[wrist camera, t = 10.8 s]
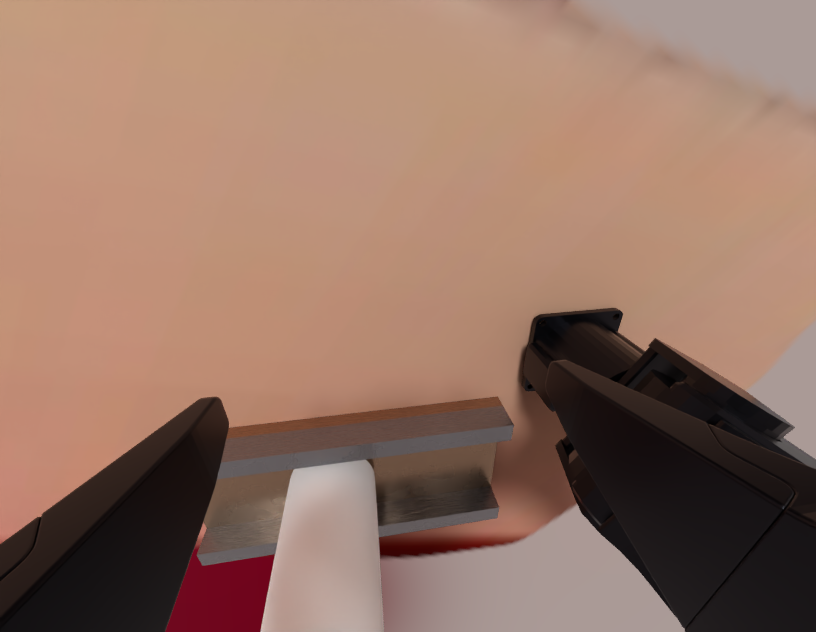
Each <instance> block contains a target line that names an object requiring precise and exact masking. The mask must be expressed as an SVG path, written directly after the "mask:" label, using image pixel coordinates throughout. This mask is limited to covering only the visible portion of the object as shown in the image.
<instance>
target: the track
mask: <svg viewBox="0 0 816 632" xmlns="http://www.w3.org/2000/svg"><path fill="white" fill-rule="evenodd" d="M513 427H514V425H513V423H512V421H511V419H510V418H509V416H508V414H507V412H506V411H505V409H504V407H503V405H502V404H501V402H500V400H499V398H498V397H492V398H483V399H475V400H466V401H458V402H449V403H441V404H432V405H423V406H415V407H406V408H398V409H389V410H380V411H372V412H363V413H355V414H346V415H338V416H329V417H320V418H312V419H303V420H295V421H286V422H277V423H269V424H260V425H252V426H243V427H235V428H229V429H228V434H227V438H226V443H225V447H224V451H223V456H222V460H221V465H220V469H219V473H218V478H217V482H216V485H215V489H214V492H213V495H212V498H211V501H210V504H209V507H208V510H207V512H206V515H205V518H204V521H203V522H204V524H205V525H206V527H207V529H206V532H205V535H204V537H203V540H202V543H201V545H200V548H199V550H198V553H197V556H198V558H199V560H200V562H201V563H202V565H210V564H216V563H222V562H229V561H235V560H241V559H247V558H253V557H260V556H266V555H272V554H275V553H276V548H277V543H278V538H279V532H280V527H281V522H282V517H283V512H284V507H285V502H286V497H287V492H288V487H289V482H290V478H291V475H292V472H293V470H294V469H298V468H306V467H313V466H321V465H328V464H336V463H343V462H351V461H358V460H367V461H368V462H369V463H370V465H371V466H372V468H373V470H374V475H375V486H376V501H377V517H378V533H379V537H383V536H390V535H396V534H402V533H408V532H414V531H421V530H427V529H433V528H439V527H445V526H451V525H458V524H464V523H470V522H476V521H482V520H489V519H495V518H497V517H498V511H499V506H498V503H497V501H496V498H495V496H494V493H493V491H492V488H491V480H492V473H493V467H494V460H495V453H496V447H497V442H501V441H508V440H511V438H512V432H513Z"/></svg>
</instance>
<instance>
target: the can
mask: <svg viewBox="0 0 816 632" xmlns="http://www.w3.org/2000/svg"><path fill="white" fill-rule="evenodd" d="M261 632H384V622H383V602H382V586H381V568H380V550H379V533H378V517H377V501H376V486H375V475H374V470H373V468H372V466H371V465H370V463H369V462H368V461H367V460H358V461H351V462H343V463H336V464H328V465H321V466H313V467H306V468H298V469H294V470H293V472H292V475H291V478H290V482H289V487H288V492H287V497H286V502H285V507H284V512H283V517H282V522H281V527H280V532H279V538H278V543H277V548H276V553H275V558H274V564H273V569H272V574H271V579H270V585H269V590H268V596H267V600H266V605H265V610H264V616H263V622H262V627H261Z"/></svg>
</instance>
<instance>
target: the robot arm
mask: <svg viewBox="0 0 816 632" xmlns="http://www.w3.org/2000/svg"><path fill="white" fill-rule="evenodd" d="M614 315H615V316H614ZM622 316H623V313H622V312H621V311H620V310H618V309H617V308H608V309H596V310H585V311H573V312H562V313H551V314H541V315H538V316H536V317H535V318H534V321H533V325H532V331H531V337H530V342H529V344H528V346H527V351H526V356H525V362H524V368H523V374H524V376H523V381H522V386H523V387H524V389H525V390H526V391H536V392H537V393H538V395H539V396H540V397H541V399H542V400H543V401H544V403H545V404H546V405H547V407H548V408H549V409H550V410H551V411H556V413H557V415H558V417H559V419H560V422H561V424H562V426H563V428H564V430H565V432H566V434H567V436H566V437H565V438H564V439H563V440H562V439H561V440H560V441H559V442H558V443H557V444H556V445H555V446H556V449H557V452H558V454H559V457H560V460H561V462H562V465H563V468H564V470H565V473H566V476H567V479H568V481H569V484H570V487H571V489H572V492H573V495H574V497H575V500H576V502H577V504H578V506H579V508H580V511H581V513H582V514H583V515H584V516H585V517H586V518H587V519H588V520H589V522H590V523H591V524H592V525H593V526H594V527H595V528H596V529H597V531H598V532H599V533H601V535H602V536H604V537H605V538H606V539H607V540H608V541H609V542H610V543H612V544H613V545H614V546H615V547H616V548H617V549H618V550H620V551H621V552H622V553H623V554H624V555H625V557H626V558H627V559H628V560H629V561H630V562H631V563H632V564H633V565H634V566H635V567H636V568H637V569H638V570H639V571H640V573H641V574H642V575H643V576H644V577H645V579H646V580H647V581H648V582H649V583H650V585H651V586H652V587H653V588H654V590H655V591H656V592H657V593H658V595H659V596H660V597H661V599H662V600H663V601H664V602H665V604H666V605H667V606H668V607H669V609H670V610H671V611H672V612H673V614H674V615H675V616H676V617H677V618H678V620H679V622H680V623H681V625H682V627H683V628H685V632H816V459H814V458H813V457H811V456H810V455H808V454H807V453H805V452H804V451H802V450H801V449H799V448H798V447H796V446H795V445H793V444H792V443H790V442H789V441H787V440H786V439H784V438H783V437H784V436H785V435H786V434H787V433H789V432H790V431H791V430H793V429H794V428H795V427H794V426H793V425H791V424H790V423H789V422H787V421H786V420H785V419H783V418H782V417H780V416H779V415H778V414H776V413H775V412H773V411H772V410H771V409H770V408H768V407H767V406H765V405H764V404H762V403H761V402H760V401H758V400H757V399H756V398H754V397H753V396H752V395H750V394H749V393H748V392H746V391H745V390H743V389H742V388H740V387H738V386H737V385H735V384H733V383H732V382H730V381H729V380H727V379H725V378H724V377H722V376H721V375H719V374H717V373H716V372H714V371H713V370H711V369H709V368H708V367H706V366H704V365H703V364H701V363H699V362H697V361H696V360H694V359H692V358H690V357H688V356H687V355H685V354H683V353H681V352H679V351H678V350H676V349H674V348H672V347H670V346H669V345H667V344H665V343H663V342H661V341H660V340H658V339H656V338H655V339H654V340H653V341H652V342H651V343H650V344H649V348H648V349H647V350H646V351H644V350H642V349H641V348H639V347H638V346H637V345H635V344H634V343H632V342H631V341H630V340H628V339H627V338H625V337H624V336H623V335H621V334H620V333H618V329H619V326H620V322H621V319H622ZM542 320H543V322H542V323H541V324H539V323H540V322H541V321H542ZM529 384H530V385H529ZM228 429H229V421H228V418H227V415H226V412H225V410H224V407H223V404H222V401H221V400H220V398H218V397H207V398H201V399H199V400H197V401H196V402H195V403H193V404H192V405H191V406H189V407H188V408H187V409H185V410H184V411H182V412H181V413H180V414H178V415H177V416H176V417H174V418H173V419H171V420H170V421H169V422H167V423H166V424H165V425H163V426H162V427H161V428H159V429H158V430H156V431H155V432H154V433H152V434H151V435H150V436H148V437H147V438H145V439H144V440H143V441H141V442H140V443H139V444H137V445H136V446H134V447H133V448H132V449H130V450H129V451H128V452H126V453H125V454H123V455H122V456H121V457H119V458H118V459H117V460H115V461H114V462H113V463H111V464H110V465H108V466H107V467H106V468H104V469H103V470H102V471H100V472H99V473H97V474H96V475H95V476H93V477H92V478H91V479H89V480H88V481H86V482H85V483H84V484H82V485H81V486H80V487H78V488H77V489H75V490H74V491H73V492H71V493H70V494H69V495H67V496H66V497H65V498H63V499H62V500H60V501H59V502H58V503H56V504H55V505H54V506H52V507H51V508H49V509H48V510H47V511H45V512H44V513H43V514H42V516H41V517H37V518H36V519H34V520H33V521H31V522H30V523H29V524H27V525H26V526H25V527H23V528H22V529H21V530H19V531H18V532H16V533H15V534H14V535H12V536H11V537H10V538H8V539H7V540H5V541H4V542H3V543H1V544H0V632H165V630H166V627H167V624H168V622H169V619H170V616H171V613H172V610H173V607H174V604H175V602H176V599H177V596H178V593H179V590H180V587H181V584H182V581H183V579H184V576H185V573H186V570H187V567H188V564H189V561H190V558H191V555H192V553H193V550H194V547H195V544H196V541H197V538H198V535H199V533H200V530H201V527H202V524H203V521H204V518H205V515H206V512H207V510H208V507H209V504H210V501H211V498H212V495H213V492H214V489H215V485H216V482H217V478H218V473H219V469H220V465H221V460H222V456H223V451H224V447H225V443H226V438H227V434H228Z"/></svg>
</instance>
